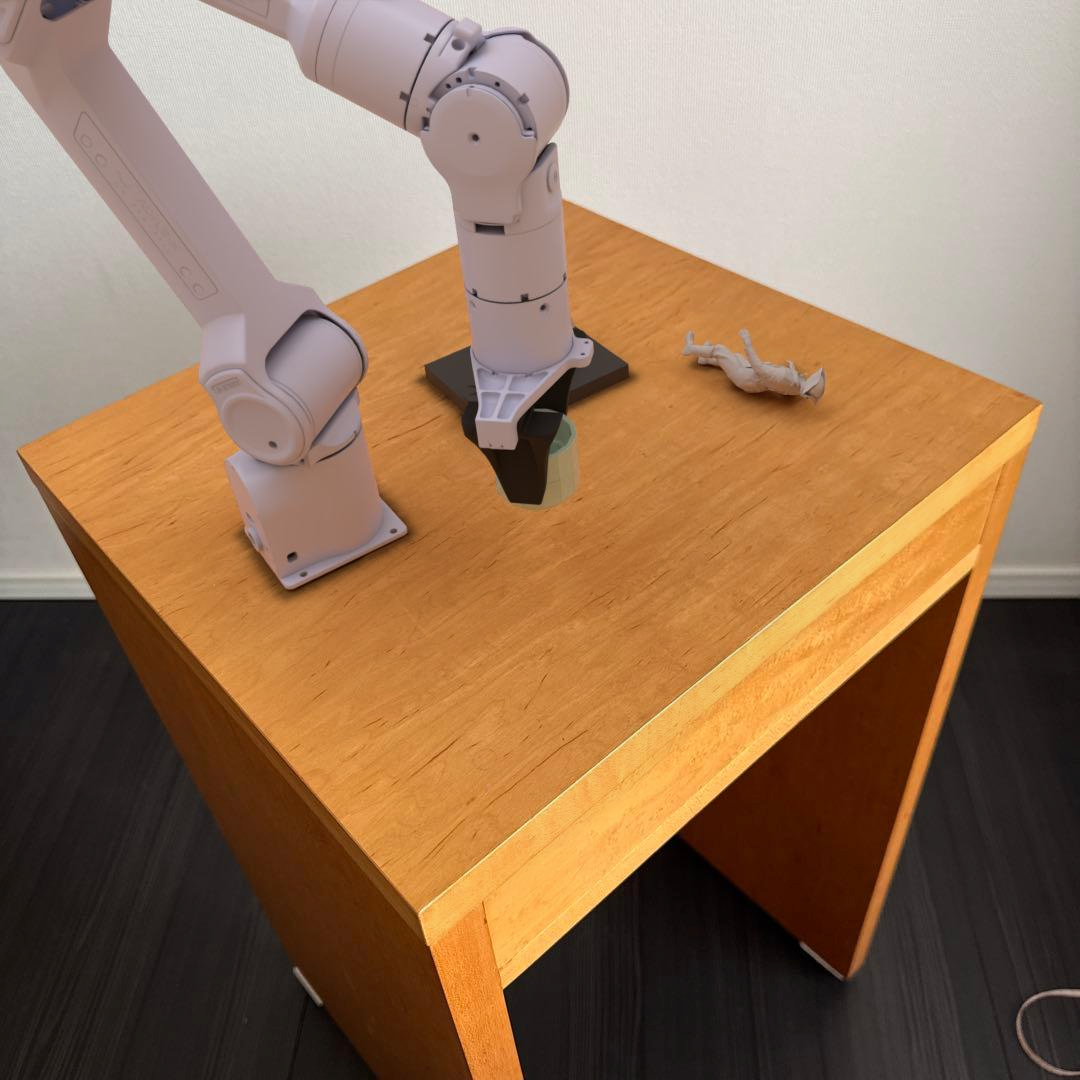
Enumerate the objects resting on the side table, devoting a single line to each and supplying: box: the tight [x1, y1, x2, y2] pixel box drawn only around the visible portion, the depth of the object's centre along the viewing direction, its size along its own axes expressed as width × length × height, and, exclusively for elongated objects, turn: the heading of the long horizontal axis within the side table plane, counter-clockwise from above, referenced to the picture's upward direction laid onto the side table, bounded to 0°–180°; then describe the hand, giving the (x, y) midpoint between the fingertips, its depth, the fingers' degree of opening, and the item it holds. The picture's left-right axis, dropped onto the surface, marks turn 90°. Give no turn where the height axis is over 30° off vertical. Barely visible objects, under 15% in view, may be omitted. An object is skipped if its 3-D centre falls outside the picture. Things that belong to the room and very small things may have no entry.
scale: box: [424, 325, 630, 413], centre depth 92 cm, size 14×12×3 cm
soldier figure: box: [681, 328, 827, 406], centre depth 88 cm, size 8×5×12 cm
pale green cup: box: [494, 409, 582, 511], centre depth 70 cm, size 5×5×4 cm
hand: (536, 469), depth 71 cm, fingers closed on pale green cup, 5 cm apart
